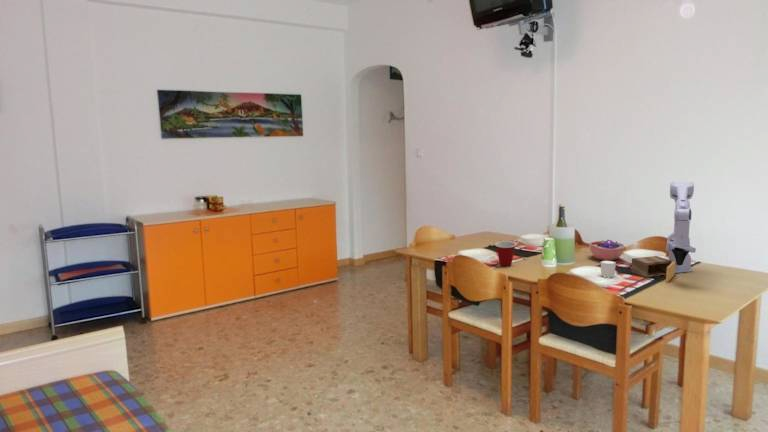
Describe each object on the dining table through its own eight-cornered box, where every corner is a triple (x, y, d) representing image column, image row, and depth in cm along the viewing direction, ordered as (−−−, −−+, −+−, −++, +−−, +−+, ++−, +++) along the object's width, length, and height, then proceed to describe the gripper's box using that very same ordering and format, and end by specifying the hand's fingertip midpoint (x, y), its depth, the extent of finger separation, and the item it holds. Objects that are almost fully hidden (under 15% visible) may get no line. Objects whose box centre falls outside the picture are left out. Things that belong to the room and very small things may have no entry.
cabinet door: (672, 274, 258) (673, 260, 257) (675, 274, 257) (676, 261, 256) (665, 281, 247) (666, 267, 246) (668, 281, 246) (668, 267, 245)
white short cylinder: (606, 278, 255) (606, 264, 254) (596, 275, 261) (597, 261, 260) (618, 277, 257) (619, 263, 255) (608, 273, 263) (609, 259, 262)
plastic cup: (492, 267, 281) (492, 244, 279) (498, 262, 291) (498, 240, 289) (513, 269, 276) (513, 246, 274) (518, 264, 286) (518, 242, 284)
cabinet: (655, 269, 268) (656, 255, 267) (670, 274, 258) (671, 260, 257) (631, 272, 264) (632, 258, 263) (645, 277, 255) (646, 263, 254)
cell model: (616, 255, 300) (616, 235, 298) (628, 264, 280) (629, 242, 278) (584, 255, 301) (585, 235, 299) (595, 264, 282) (595, 243, 280)
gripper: (661, 233, 245) (660, 261, 247) (686, 239, 231) (684, 269, 233) (674, 231, 247) (672, 260, 249) (700, 237, 233) (698, 268, 235)
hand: (679, 264), depth 241 cm, fingers closed
